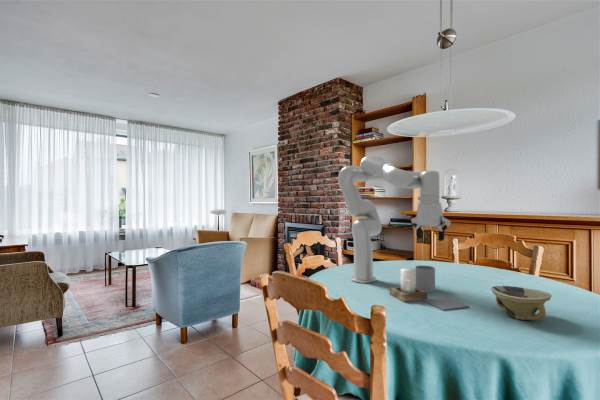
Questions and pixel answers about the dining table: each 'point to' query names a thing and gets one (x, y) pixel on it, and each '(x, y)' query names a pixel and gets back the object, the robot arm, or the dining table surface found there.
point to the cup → (425, 278)
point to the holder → (408, 295)
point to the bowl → (521, 302)
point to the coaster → (446, 303)
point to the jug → (408, 280)
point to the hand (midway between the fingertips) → (430, 239)
